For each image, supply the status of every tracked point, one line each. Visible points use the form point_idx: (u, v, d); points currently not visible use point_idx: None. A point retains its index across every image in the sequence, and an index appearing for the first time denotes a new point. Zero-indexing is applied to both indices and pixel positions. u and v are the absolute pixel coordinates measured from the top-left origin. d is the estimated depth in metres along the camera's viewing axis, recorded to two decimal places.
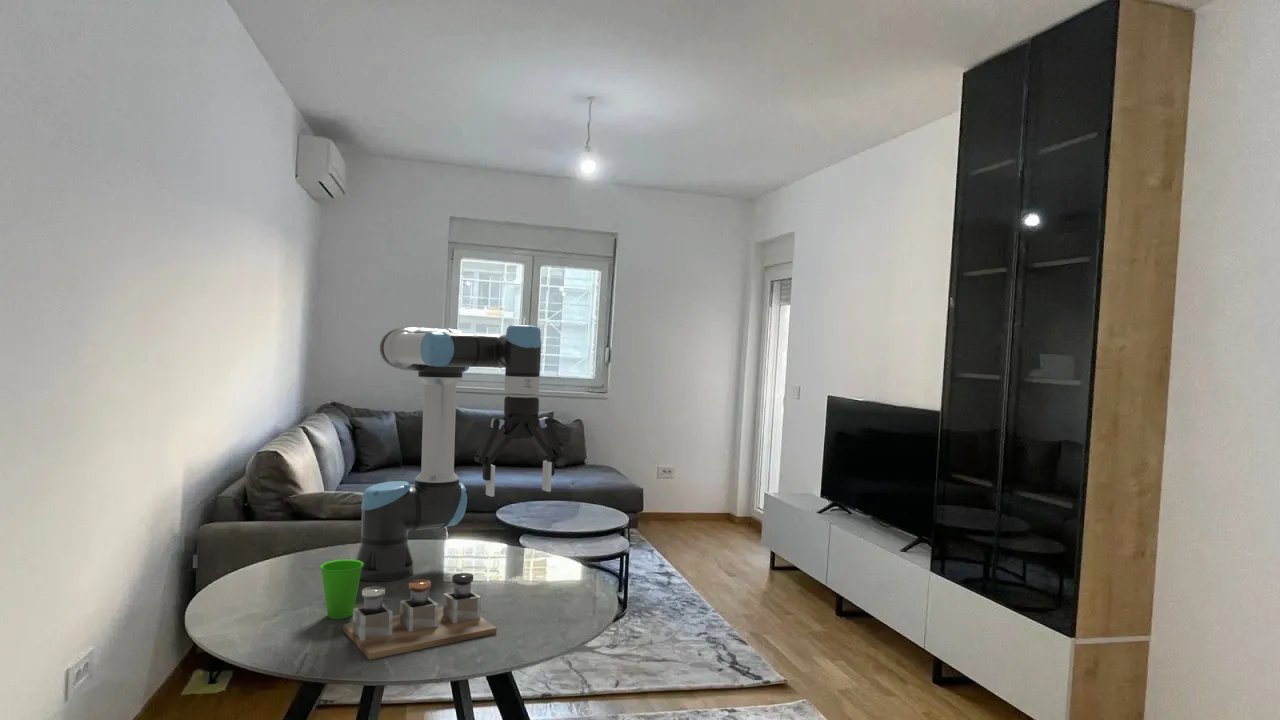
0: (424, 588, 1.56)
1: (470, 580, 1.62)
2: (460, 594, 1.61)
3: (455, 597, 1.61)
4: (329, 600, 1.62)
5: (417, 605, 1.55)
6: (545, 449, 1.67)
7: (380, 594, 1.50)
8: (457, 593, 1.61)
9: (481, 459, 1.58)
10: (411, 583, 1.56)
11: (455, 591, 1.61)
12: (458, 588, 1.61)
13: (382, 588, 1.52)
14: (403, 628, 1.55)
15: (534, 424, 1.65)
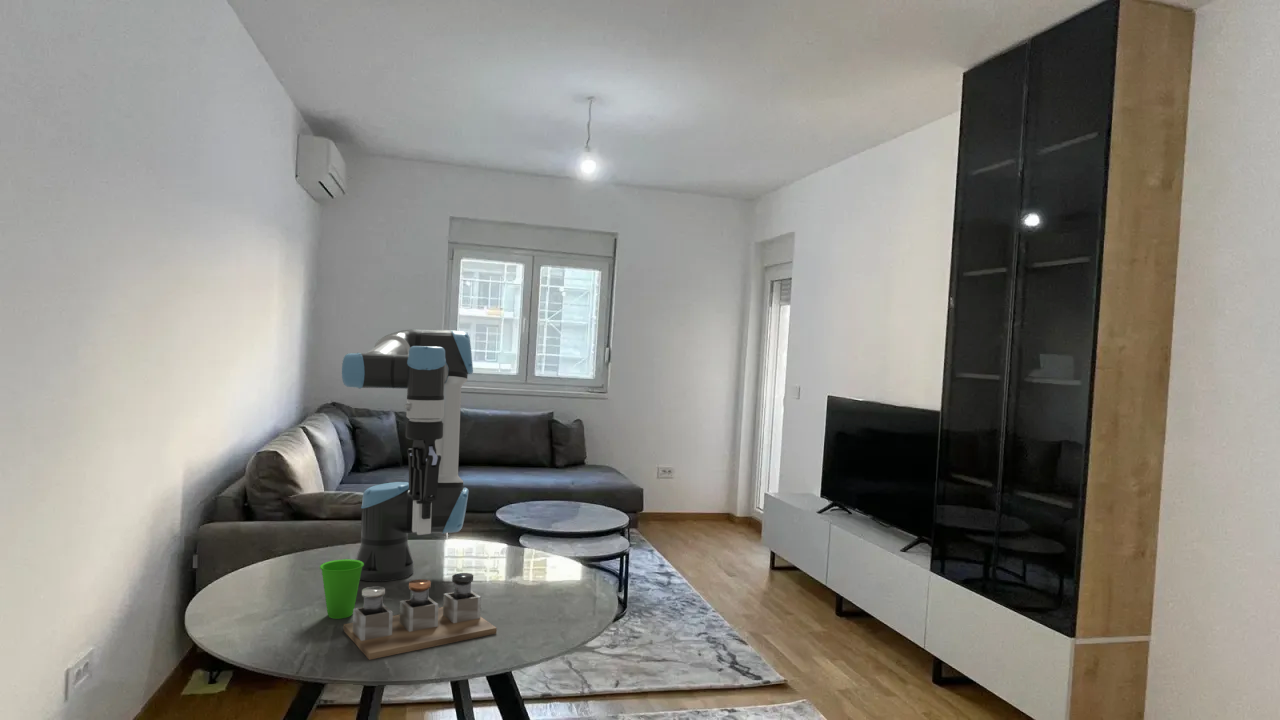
0: (424, 588, 1.56)
1: (470, 580, 1.62)
2: (460, 594, 1.61)
3: (455, 597, 1.61)
4: (329, 600, 1.62)
5: (417, 605, 1.55)
6: (420, 485, 1.55)
7: (380, 594, 1.50)
8: (457, 593, 1.61)
9: (409, 491, 1.60)
10: (411, 583, 1.56)
11: (455, 591, 1.61)
12: (458, 588, 1.61)
13: (382, 588, 1.52)
14: (403, 628, 1.55)
15: (423, 450, 1.54)
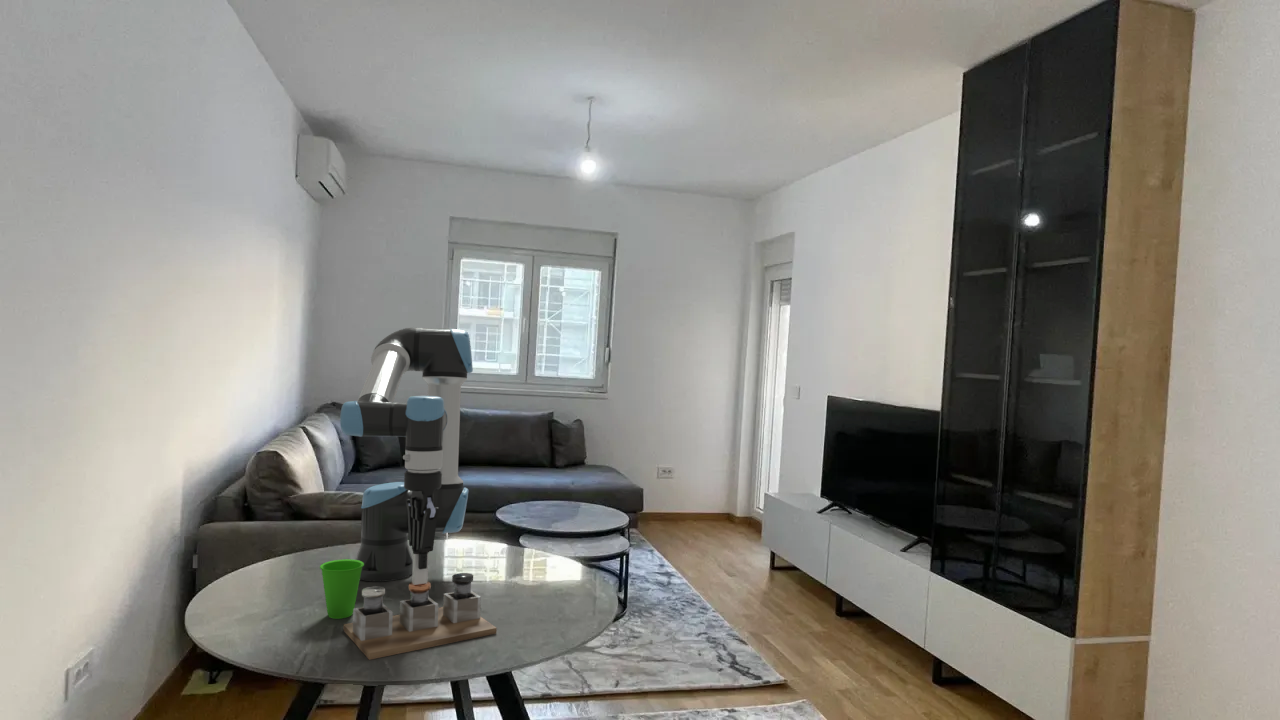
0: (424, 590, 1.56)
1: (470, 580, 1.62)
2: (460, 594, 1.61)
3: (455, 597, 1.61)
4: (329, 600, 1.62)
5: None
6: (417, 535, 1.55)
7: (380, 594, 1.50)
8: (457, 593, 1.61)
9: (409, 542, 1.59)
10: (411, 585, 1.56)
11: (455, 591, 1.61)
12: (458, 588, 1.61)
13: (382, 588, 1.52)
14: (403, 628, 1.55)
15: (421, 500, 1.54)
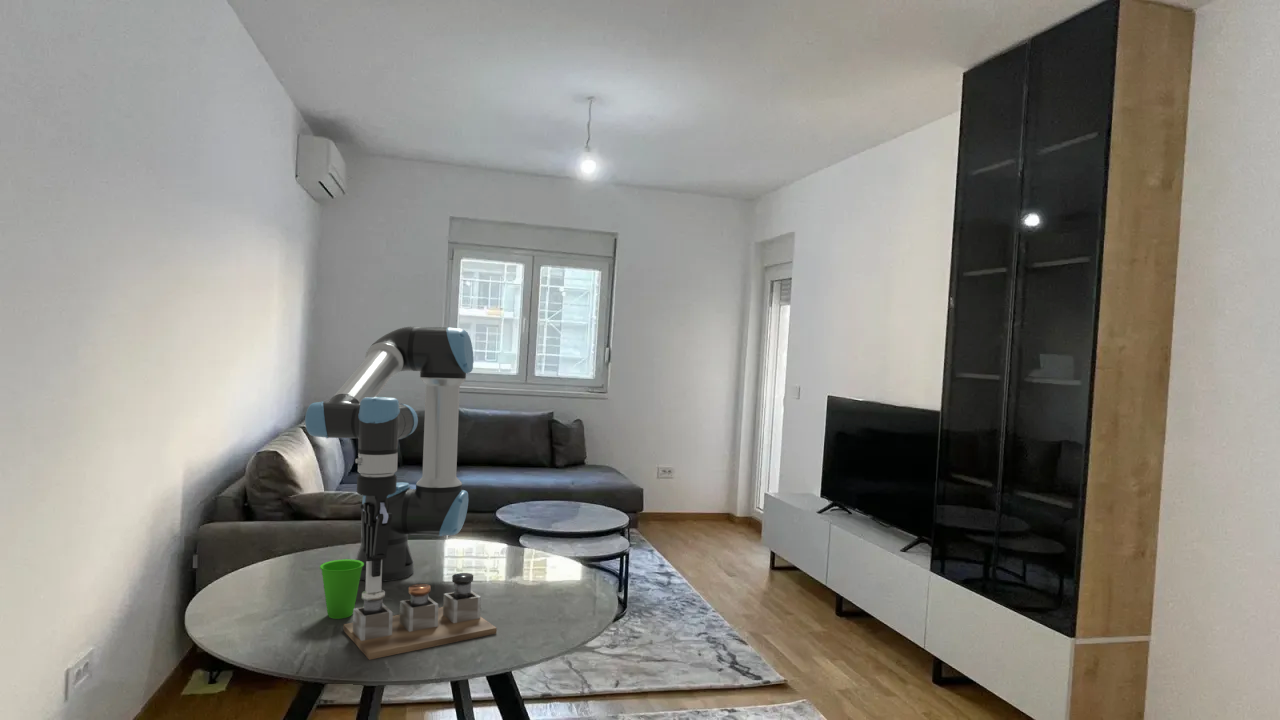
0: (424, 593, 1.56)
1: (470, 580, 1.62)
2: (460, 594, 1.61)
3: (455, 597, 1.61)
4: (329, 600, 1.62)
5: None
6: (370, 542, 1.50)
7: (380, 597, 1.50)
8: (457, 593, 1.61)
9: (363, 549, 1.53)
10: (411, 588, 1.56)
11: (455, 591, 1.61)
12: (458, 588, 1.61)
13: (382, 591, 1.52)
14: (403, 628, 1.55)
15: (374, 505, 1.49)
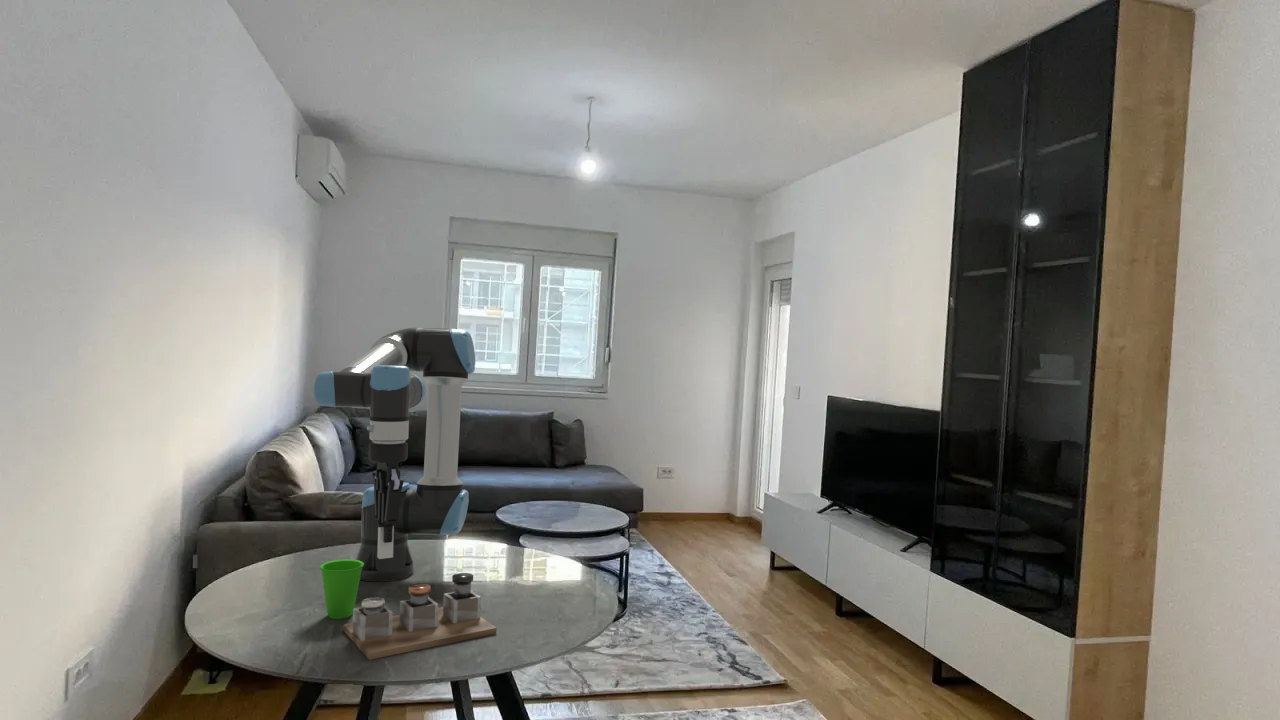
0: (424, 593, 1.56)
1: (470, 580, 1.62)
2: (460, 594, 1.61)
3: (455, 597, 1.61)
4: (329, 600, 1.62)
5: None
6: (382, 508, 1.51)
7: (380, 605, 1.50)
8: (457, 593, 1.61)
9: (375, 515, 1.55)
10: (411, 588, 1.56)
11: (455, 591, 1.61)
12: (458, 588, 1.61)
13: (382, 599, 1.52)
14: (403, 628, 1.55)
15: (386, 472, 1.50)
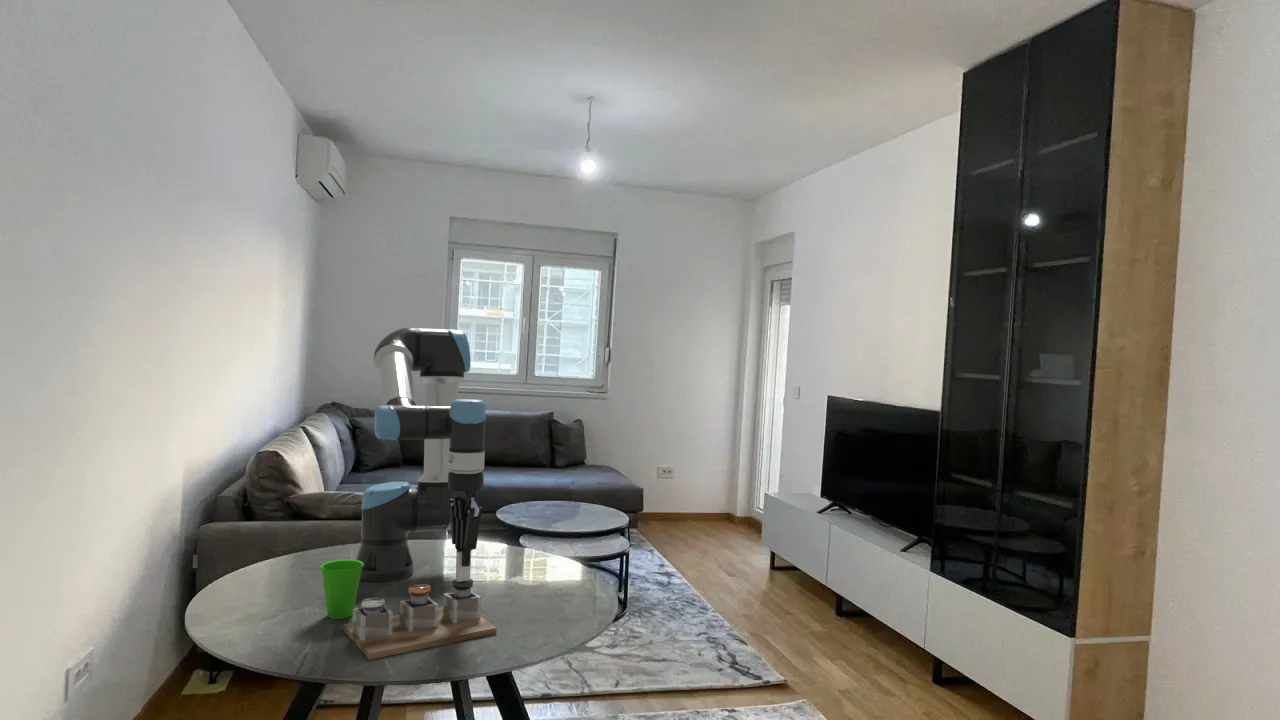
0: (424, 593, 1.56)
1: (470, 585, 1.62)
2: None
3: None
4: (329, 600, 1.62)
5: None
6: (461, 534, 1.61)
7: (380, 605, 1.50)
8: (457, 598, 1.61)
9: (452, 541, 1.65)
10: (411, 588, 1.56)
11: (455, 596, 1.61)
12: (457, 593, 1.61)
13: (382, 599, 1.52)
14: (403, 628, 1.55)
15: (465, 500, 1.60)
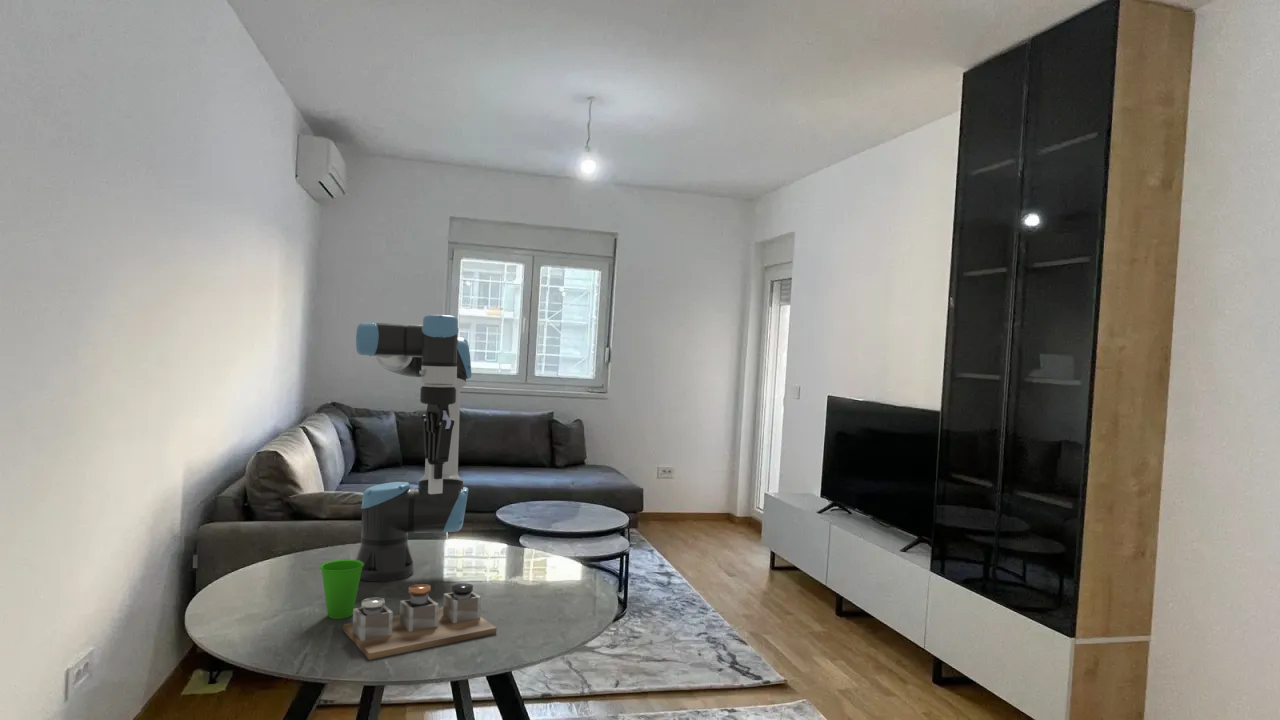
0: (424, 593, 1.56)
1: (470, 590, 1.62)
2: None
3: None
4: (329, 600, 1.62)
5: None
6: (433, 447, 1.63)
7: (380, 605, 1.50)
8: None
9: (425, 455, 1.67)
10: (411, 588, 1.56)
11: None
12: (457, 599, 1.61)
13: (382, 599, 1.52)
14: (403, 628, 1.55)
15: (437, 413, 1.62)
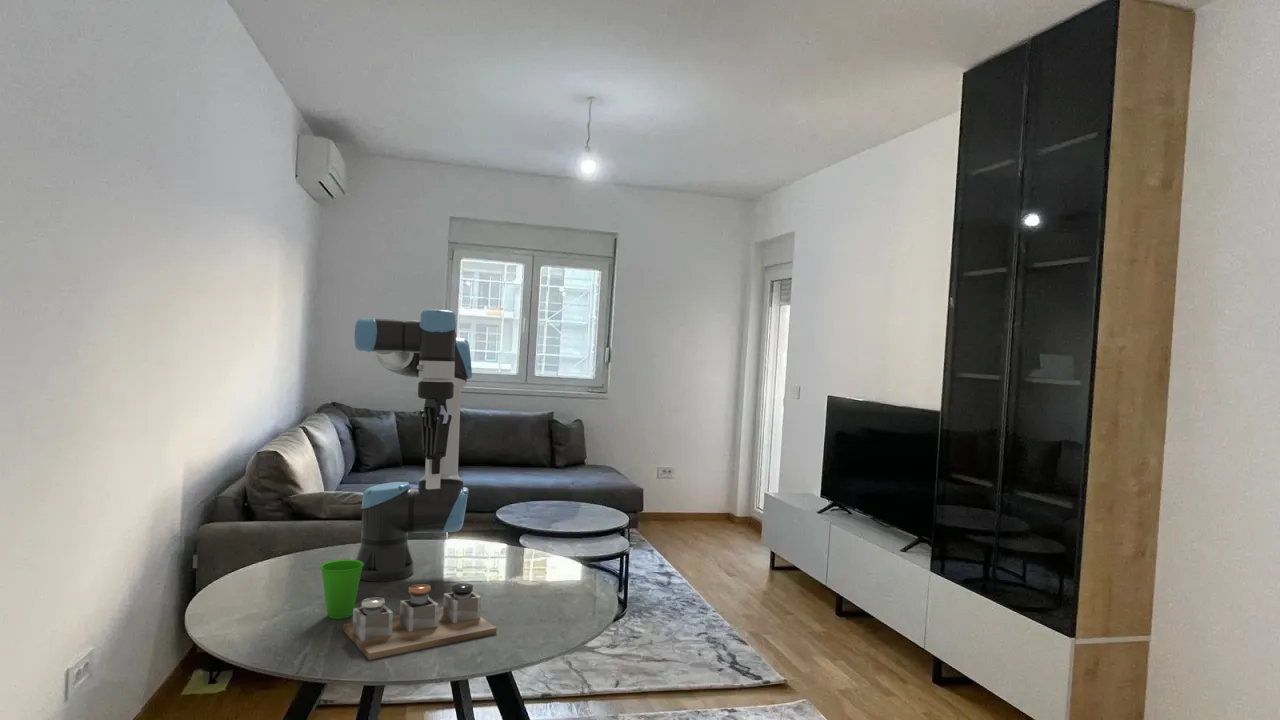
0: (424, 593, 1.56)
1: (470, 590, 1.62)
2: None
3: None
4: (329, 600, 1.62)
5: None
6: (430, 442, 1.63)
7: (380, 605, 1.50)
8: None
9: None
10: (411, 588, 1.56)
11: None
12: (457, 599, 1.61)
13: (382, 599, 1.52)
14: (403, 628, 1.55)
15: (434, 408, 1.62)
